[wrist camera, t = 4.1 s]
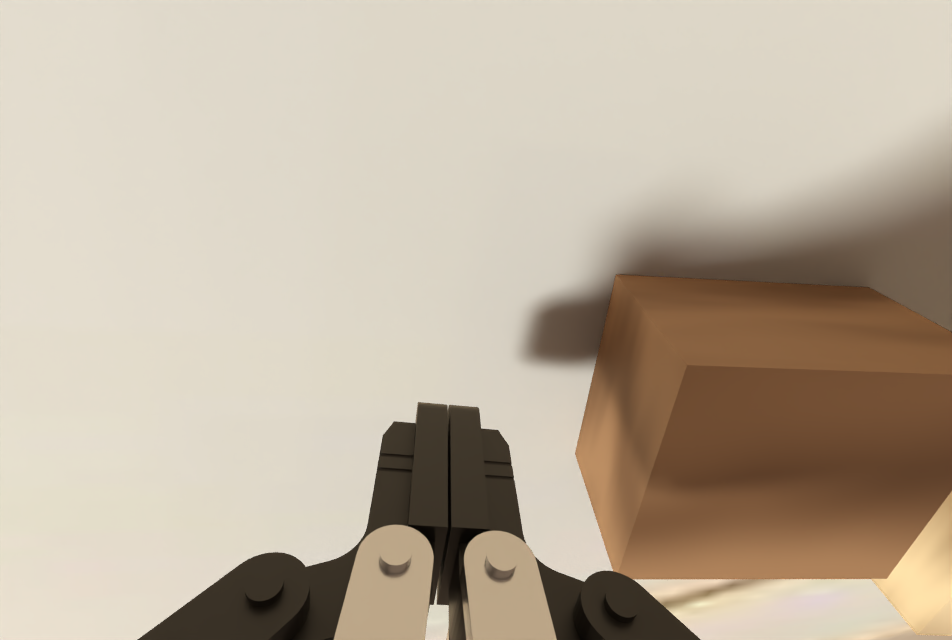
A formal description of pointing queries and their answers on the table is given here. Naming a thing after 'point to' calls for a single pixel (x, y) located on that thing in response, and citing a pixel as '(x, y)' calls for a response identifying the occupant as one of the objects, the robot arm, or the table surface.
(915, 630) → the ash board
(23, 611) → the table surface
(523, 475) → the table surface
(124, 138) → the table surface
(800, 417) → the walnut block
